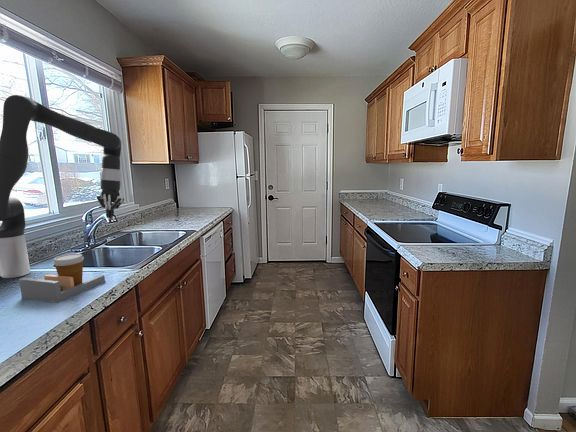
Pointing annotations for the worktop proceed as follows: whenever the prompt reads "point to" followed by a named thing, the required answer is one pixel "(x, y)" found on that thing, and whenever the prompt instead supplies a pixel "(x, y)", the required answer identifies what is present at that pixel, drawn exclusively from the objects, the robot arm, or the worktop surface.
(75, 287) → the grey shallow tray
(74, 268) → the disposable coffee cup
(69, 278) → the pusher plate
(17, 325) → the worktop surface
